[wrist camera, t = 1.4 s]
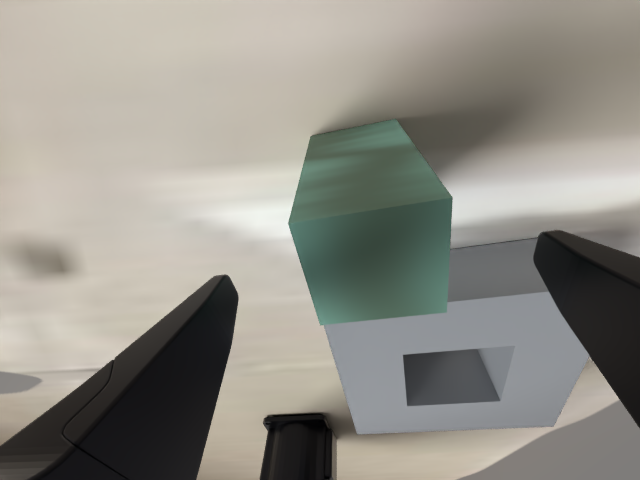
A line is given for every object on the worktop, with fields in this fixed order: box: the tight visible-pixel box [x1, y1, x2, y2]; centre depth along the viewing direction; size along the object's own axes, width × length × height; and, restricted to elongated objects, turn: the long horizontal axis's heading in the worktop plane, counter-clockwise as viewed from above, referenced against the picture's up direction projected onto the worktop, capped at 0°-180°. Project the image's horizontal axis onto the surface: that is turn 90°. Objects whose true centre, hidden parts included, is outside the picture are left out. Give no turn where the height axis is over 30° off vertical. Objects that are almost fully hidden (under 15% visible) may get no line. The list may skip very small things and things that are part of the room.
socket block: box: [324, 238, 590, 434], centre depth 20 cm, size 14×14×4 cm
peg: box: [288, 119, 452, 325], centre depth 12 cm, size 4×4×8 cm
